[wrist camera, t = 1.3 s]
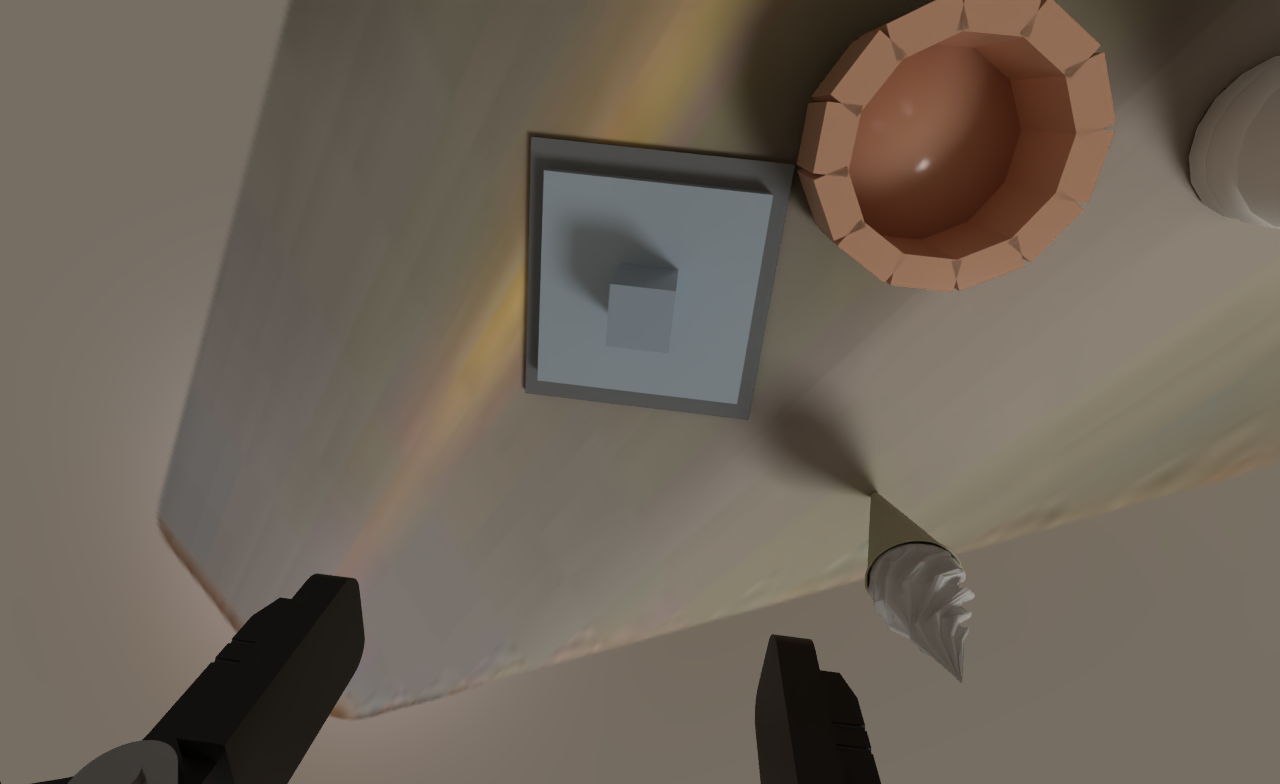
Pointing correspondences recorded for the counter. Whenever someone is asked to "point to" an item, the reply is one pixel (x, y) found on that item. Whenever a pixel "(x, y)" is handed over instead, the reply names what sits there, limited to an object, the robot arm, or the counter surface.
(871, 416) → the counter surface
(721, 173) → the mat
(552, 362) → the lid
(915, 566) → the ice cream cone
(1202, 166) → the bottle
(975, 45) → the bowl
